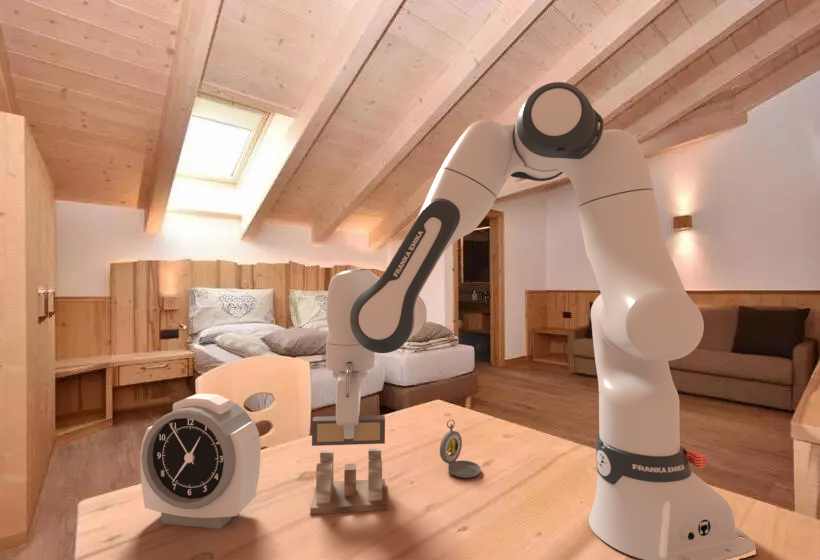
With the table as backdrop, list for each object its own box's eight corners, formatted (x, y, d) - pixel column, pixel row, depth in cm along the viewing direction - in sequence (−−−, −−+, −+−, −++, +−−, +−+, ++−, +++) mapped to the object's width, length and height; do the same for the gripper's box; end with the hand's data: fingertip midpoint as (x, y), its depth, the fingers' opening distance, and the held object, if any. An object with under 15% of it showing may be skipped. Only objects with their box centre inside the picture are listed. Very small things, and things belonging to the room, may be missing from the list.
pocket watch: (480, 481, 79) (480, 430, 80) (437, 477, 81) (437, 427, 81) (481, 463, 87) (481, 417, 88) (442, 460, 89) (442, 414, 89)
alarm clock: (132, 527, 64) (134, 400, 65) (171, 499, 73) (172, 387, 73) (237, 537, 62) (238, 405, 62) (264, 506, 70) (265, 391, 70)
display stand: (384, 484, 78) (384, 445, 78) (387, 509, 69) (387, 466, 69) (317, 487, 77) (317, 448, 77) (310, 514, 68) (310, 469, 68)
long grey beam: (384, 438, 75) (384, 415, 75) (384, 443, 73) (385, 419, 73) (313, 440, 74) (314, 416, 74) (311, 446, 71) (312, 421, 71)
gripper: (367, 369, 63) (366, 457, 63) (367, 348, 84) (367, 415, 84) (327, 369, 63) (326, 458, 63) (337, 349, 83) (336, 415, 83)
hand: (349, 433), depth 73 cm, fingers closed on long grey beam, 2 cm apart
